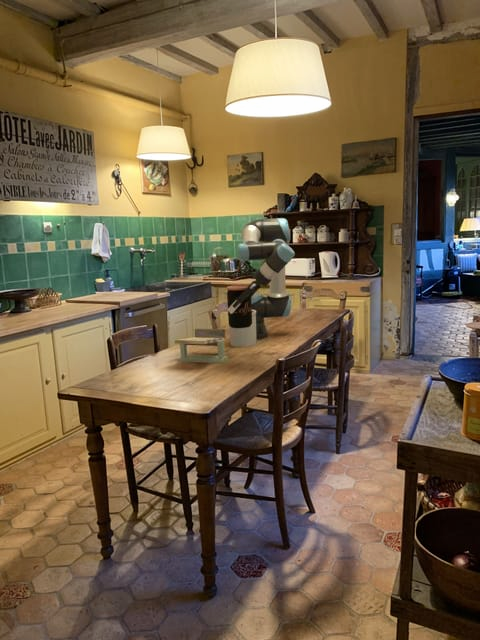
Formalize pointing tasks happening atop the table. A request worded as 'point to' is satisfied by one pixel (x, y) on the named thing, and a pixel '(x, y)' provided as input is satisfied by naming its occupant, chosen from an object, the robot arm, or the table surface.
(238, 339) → the utensil holder
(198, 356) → the seesaw stand
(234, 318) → the coffee jar
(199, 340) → the seesaw plank
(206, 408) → the table surface
